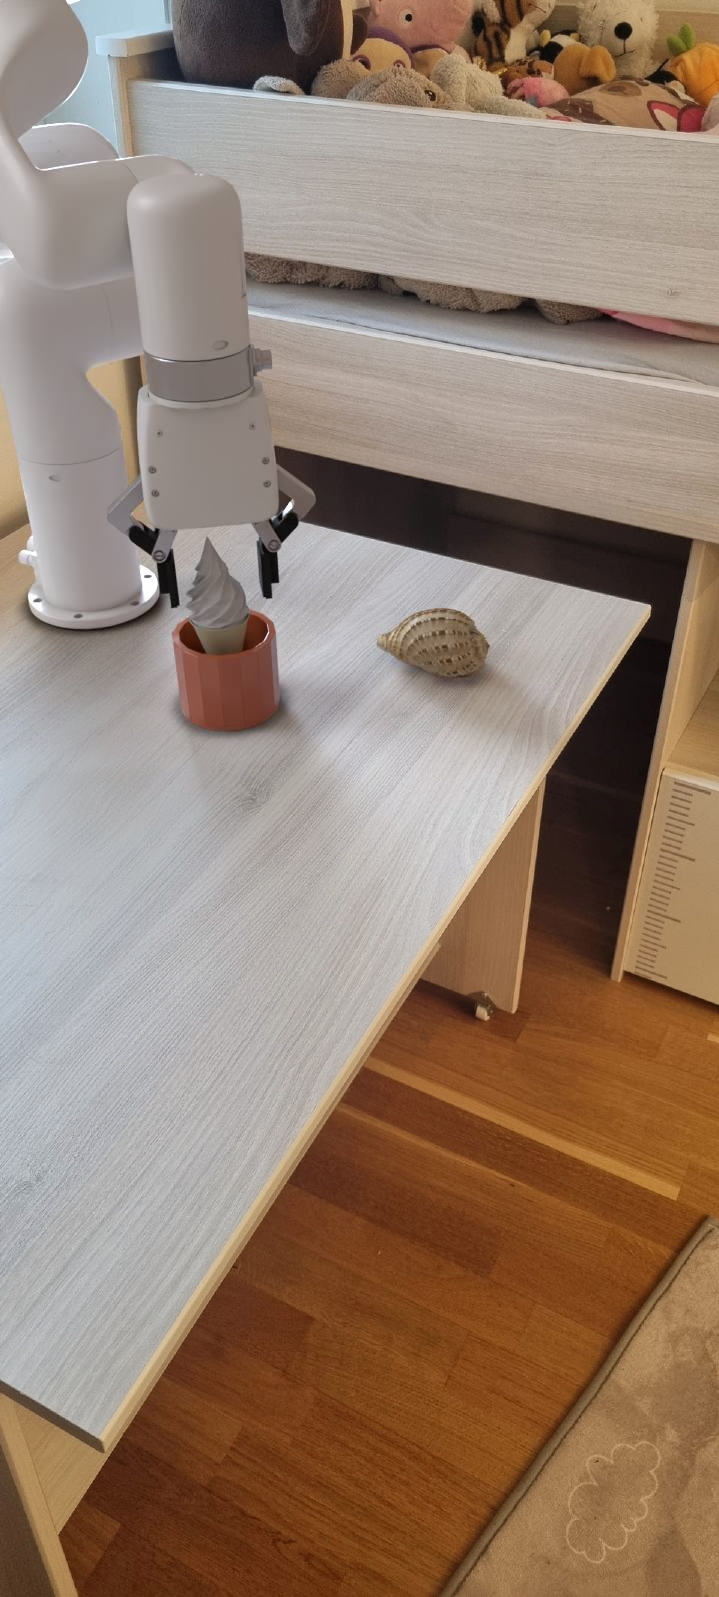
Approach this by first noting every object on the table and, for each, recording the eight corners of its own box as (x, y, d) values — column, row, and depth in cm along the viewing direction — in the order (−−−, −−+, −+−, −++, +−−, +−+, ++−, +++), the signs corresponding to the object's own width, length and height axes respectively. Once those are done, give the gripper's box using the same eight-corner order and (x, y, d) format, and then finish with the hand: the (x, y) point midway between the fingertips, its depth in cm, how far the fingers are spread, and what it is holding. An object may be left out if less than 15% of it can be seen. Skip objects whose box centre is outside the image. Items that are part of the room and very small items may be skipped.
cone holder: (160, 710, 102) (151, 639, 97) (224, 667, 107) (217, 597, 103) (237, 742, 98) (230, 669, 93) (299, 695, 103) (295, 624, 99)
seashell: (392, 711, 106) (497, 677, 102) (363, 657, 103) (470, 619, 99) (402, 666, 112) (502, 631, 108) (374, 613, 109) (476, 576, 105)
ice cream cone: (201, 684, 104) (177, 524, 95) (259, 679, 104) (240, 519, 95) (200, 716, 100) (174, 553, 91) (260, 711, 100) (241, 547, 91)
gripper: (312, 346, 89) (320, 564, 100) (76, 363, 87) (110, 584, 98) (327, 379, 83) (334, 607, 94) (75, 398, 81) (112, 629, 92)
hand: (220, 593), depth 96 cm, fingers open, 6 cm apart
